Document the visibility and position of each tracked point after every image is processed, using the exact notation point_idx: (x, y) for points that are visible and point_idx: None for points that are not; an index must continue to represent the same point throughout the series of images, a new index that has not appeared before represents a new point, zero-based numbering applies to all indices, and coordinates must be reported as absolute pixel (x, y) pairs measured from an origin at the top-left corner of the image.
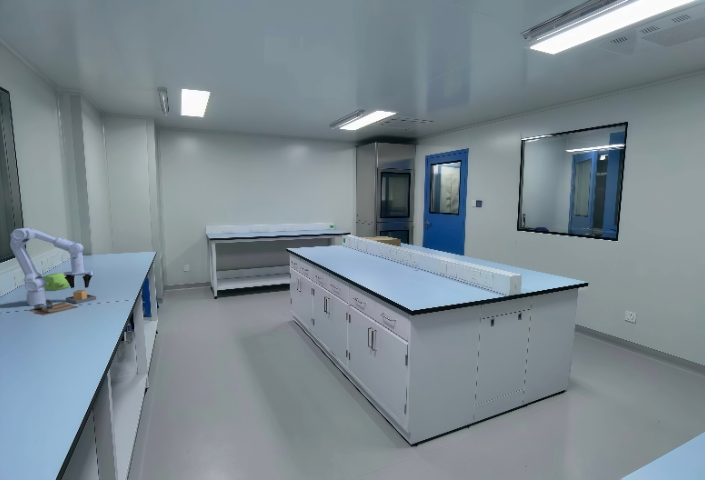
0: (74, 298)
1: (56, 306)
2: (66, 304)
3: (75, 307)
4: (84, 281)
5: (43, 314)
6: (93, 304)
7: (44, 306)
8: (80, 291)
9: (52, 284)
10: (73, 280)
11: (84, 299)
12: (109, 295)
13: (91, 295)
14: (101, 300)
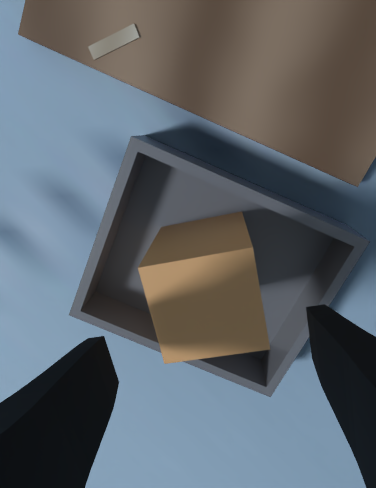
0: (236, 223)
1: (305, 19)
2: (246, 111)
3: (38, 6)
4: (27, 401)
5: None
6: (23, 194)
7: None
8: (176, 291)
9: None
10: (365, 470)
11: (105, 213)
12: (123, 439)
13: (139, 336)
14: (63, 312)
